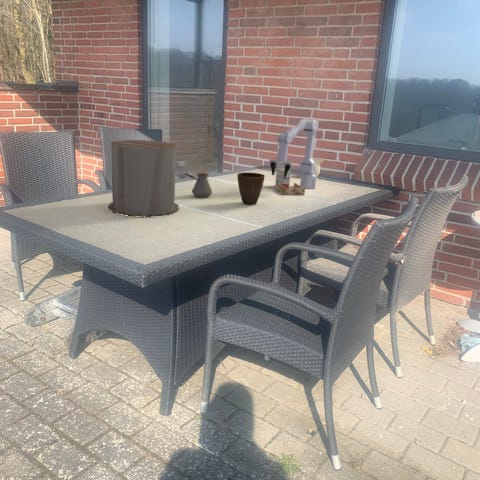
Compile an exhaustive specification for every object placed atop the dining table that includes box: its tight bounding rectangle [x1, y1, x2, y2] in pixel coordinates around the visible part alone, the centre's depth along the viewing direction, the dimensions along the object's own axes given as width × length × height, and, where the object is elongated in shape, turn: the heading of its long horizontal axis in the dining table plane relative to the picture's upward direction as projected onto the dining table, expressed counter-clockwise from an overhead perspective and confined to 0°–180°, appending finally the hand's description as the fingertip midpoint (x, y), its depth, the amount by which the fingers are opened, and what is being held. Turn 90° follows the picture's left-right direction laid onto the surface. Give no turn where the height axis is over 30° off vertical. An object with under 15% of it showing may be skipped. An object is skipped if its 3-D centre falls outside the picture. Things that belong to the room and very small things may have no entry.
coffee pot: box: [182, 172, 213, 199], centre depth 281 cm, size 21×12×15 cm, turn 144°
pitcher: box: [305, 158, 325, 179], centre depth 365 cm, size 11×18×14 cm, turn 64°
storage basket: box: [107, 139, 180, 218], centre depth 249 cm, size 35×35×32 cm
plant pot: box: [236, 172, 266, 206], centre depth 274 cm, size 15×15×16 cm
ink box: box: [274, 168, 291, 188], centre depth 325 cm, size 8×5×12 cm, turn 39°
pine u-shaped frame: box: [275, 182, 306, 196], centre depth 313 cm, size 13×17×4 cm
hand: (278, 176), depth 305 cm, fingers open, 7 cm apart
